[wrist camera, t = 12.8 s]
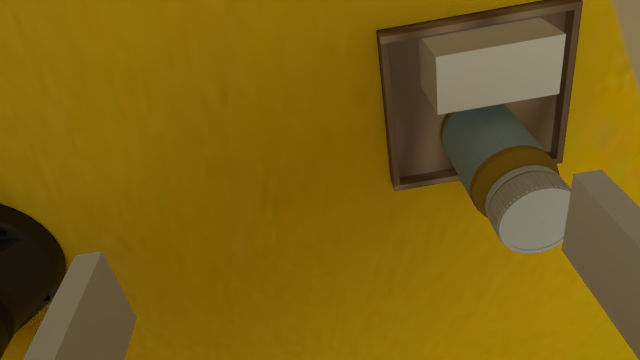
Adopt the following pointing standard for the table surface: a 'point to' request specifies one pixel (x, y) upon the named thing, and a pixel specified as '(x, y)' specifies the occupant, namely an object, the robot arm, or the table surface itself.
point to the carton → (491, 64)
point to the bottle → (508, 177)
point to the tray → (425, 124)
